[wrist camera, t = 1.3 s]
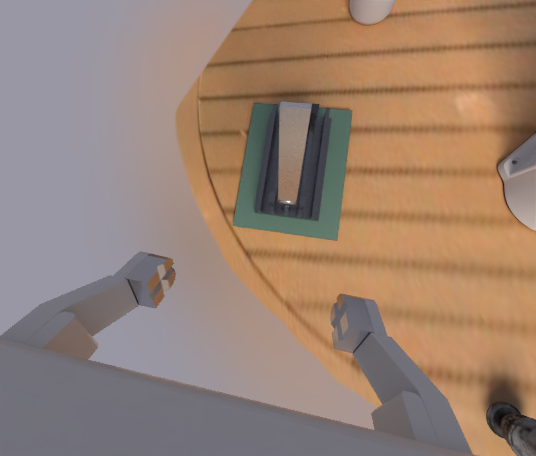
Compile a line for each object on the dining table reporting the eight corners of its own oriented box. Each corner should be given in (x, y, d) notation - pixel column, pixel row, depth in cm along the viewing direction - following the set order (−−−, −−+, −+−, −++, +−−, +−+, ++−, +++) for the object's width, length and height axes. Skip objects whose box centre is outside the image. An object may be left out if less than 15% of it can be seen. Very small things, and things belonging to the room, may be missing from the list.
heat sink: (317, 221, 37) (323, 215, 31) (255, 213, 39) (248, 205, 32) (330, 122, 39) (338, 97, 33) (270, 118, 41) (267, 93, 34)
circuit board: (335, 240, 38) (337, 240, 37) (234, 225, 40) (232, 225, 39) (350, 113, 40) (352, 110, 39) (254, 106, 42) (253, 103, 41)
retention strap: (296, 200, 34) (295, 206, 33) (278, 198, 34) (277, 204, 34) (312, 102, 19) (310, 110, 19) (281, 100, 19) (279, 107, 19)
